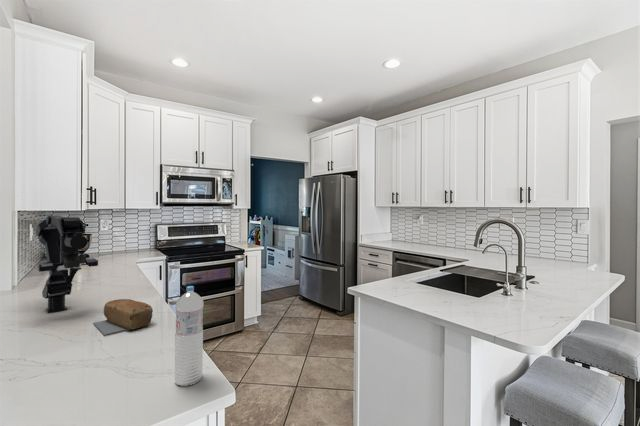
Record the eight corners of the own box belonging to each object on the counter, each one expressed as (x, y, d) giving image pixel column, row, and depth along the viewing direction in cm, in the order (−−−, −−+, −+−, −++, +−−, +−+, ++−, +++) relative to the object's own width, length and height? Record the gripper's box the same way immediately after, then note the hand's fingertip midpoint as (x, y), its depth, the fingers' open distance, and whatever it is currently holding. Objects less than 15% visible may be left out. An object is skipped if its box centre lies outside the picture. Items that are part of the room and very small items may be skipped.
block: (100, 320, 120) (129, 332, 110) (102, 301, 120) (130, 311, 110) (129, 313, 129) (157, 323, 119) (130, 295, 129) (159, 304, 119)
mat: (93, 324, 117) (93, 322, 117) (133, 315, 128) (133, 314, 128) (104, 336, 107) (104, 334, 107) (147, 325, 117) (147, 324, 117)
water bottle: (180, 373, 84) (181, 283, 84) (205, 372, 84) (207, 283, 84) (170, 387, 77) (171, 290, 77) (197, 387, 78) (199, 290, 77)
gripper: (41, 251, 112) (40, 293, 113) (101, 247, 126) (101, 284, 127) (37, 248, 120) (37, 287, 120) (95, 245, 134) (94, 280, 134)
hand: (68, 285), depth 125 cm, fingers closed
